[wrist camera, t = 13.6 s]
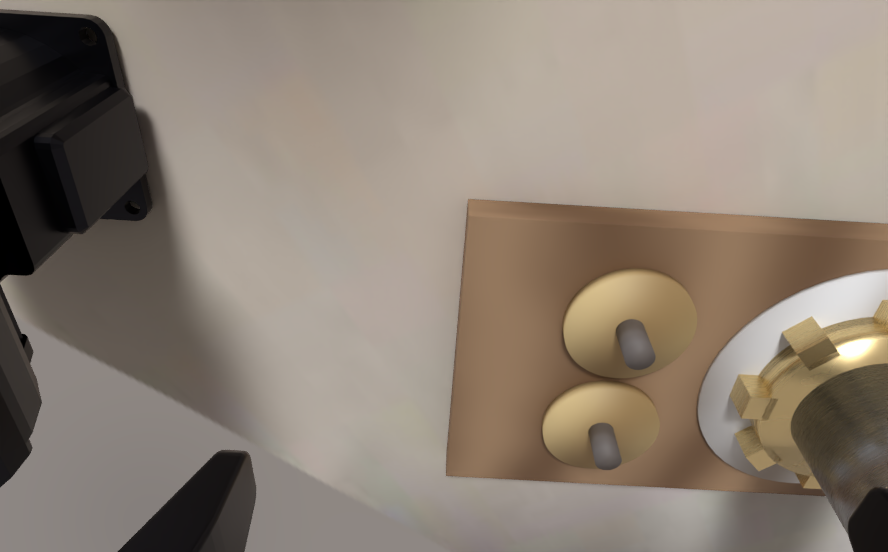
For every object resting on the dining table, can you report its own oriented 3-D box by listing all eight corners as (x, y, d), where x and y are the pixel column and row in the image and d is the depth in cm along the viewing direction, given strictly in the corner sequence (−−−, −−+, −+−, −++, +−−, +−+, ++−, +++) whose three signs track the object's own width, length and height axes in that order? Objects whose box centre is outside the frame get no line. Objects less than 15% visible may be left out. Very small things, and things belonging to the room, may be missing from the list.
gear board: (446, 453, 28) (445, 515, 25) (468, 199, 21) (469, 248, 18) (922, 479, 28) (969, 543, 26) (1107, 236, 21) (1201, 291, 18)
